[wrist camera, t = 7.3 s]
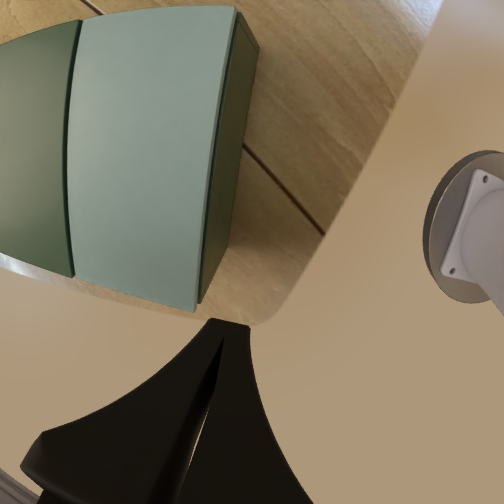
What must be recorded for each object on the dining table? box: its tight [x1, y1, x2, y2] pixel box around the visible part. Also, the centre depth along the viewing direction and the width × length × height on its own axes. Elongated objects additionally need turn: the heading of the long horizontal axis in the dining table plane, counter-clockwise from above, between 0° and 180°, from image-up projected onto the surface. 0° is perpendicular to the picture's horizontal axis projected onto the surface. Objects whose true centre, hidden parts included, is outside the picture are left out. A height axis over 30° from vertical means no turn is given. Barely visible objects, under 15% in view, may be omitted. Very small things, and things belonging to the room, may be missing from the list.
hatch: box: [67, 5, 237, 313], centre depth 11 cm, size 7×13×1 cm, turn 171°
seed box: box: [0, 12, 260, 304], centre depth 14 cm, size 14×13×7 cm
